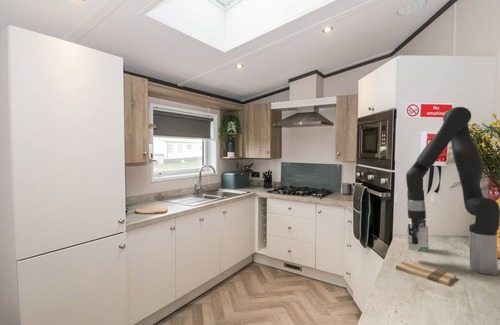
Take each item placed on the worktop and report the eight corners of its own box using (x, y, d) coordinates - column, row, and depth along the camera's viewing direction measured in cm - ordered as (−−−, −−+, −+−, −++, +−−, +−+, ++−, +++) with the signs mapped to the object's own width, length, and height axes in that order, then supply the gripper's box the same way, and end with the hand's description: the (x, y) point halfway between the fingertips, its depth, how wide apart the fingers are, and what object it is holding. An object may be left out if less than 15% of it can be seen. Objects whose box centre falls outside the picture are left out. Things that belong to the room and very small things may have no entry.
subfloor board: (405, 263, 125) (405, 260, 125) (456, 278, 108) (456, 274, 108) (395, 269, 119) (395, 265, 119) (447, 285, 103) (447, 281, 103)
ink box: (407, 249, 127) (406, 226, 126) (408, 246, 131) (407, 223, 130) (428, 253, 121) (427, 228, 121) (429, 249, 125) (428, 225, 125)
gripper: (414, 205, 133) (416, 237, 133) (401, 210, 125) (403, 243, 125) (431, 207, 127) (432, 240, 127) (418, 212, 118) (420, 247, 119)
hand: (418, 242), depth 126 cm, fingers closed on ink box, 6 cm apart
